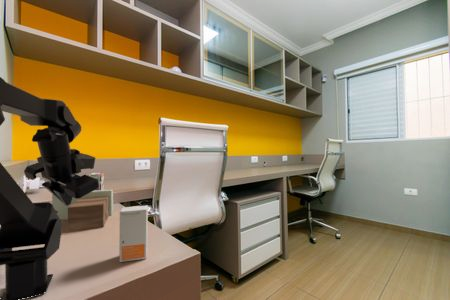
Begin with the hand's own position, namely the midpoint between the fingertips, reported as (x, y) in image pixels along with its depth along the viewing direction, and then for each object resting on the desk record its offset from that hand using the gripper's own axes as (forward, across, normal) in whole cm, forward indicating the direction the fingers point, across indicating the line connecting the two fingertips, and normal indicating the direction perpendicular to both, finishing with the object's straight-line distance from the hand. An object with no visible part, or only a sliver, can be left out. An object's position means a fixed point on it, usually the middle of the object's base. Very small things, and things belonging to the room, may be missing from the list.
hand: (67, 204), depth 57 cm
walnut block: (+20, +8, -11) cm, 24 cm away
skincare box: (+6, -23, +2) cm, 24 cm away
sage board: (+23, +17, -14) cm, 32 cm away
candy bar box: (+27, +19, -21) cm, 39 cm away
